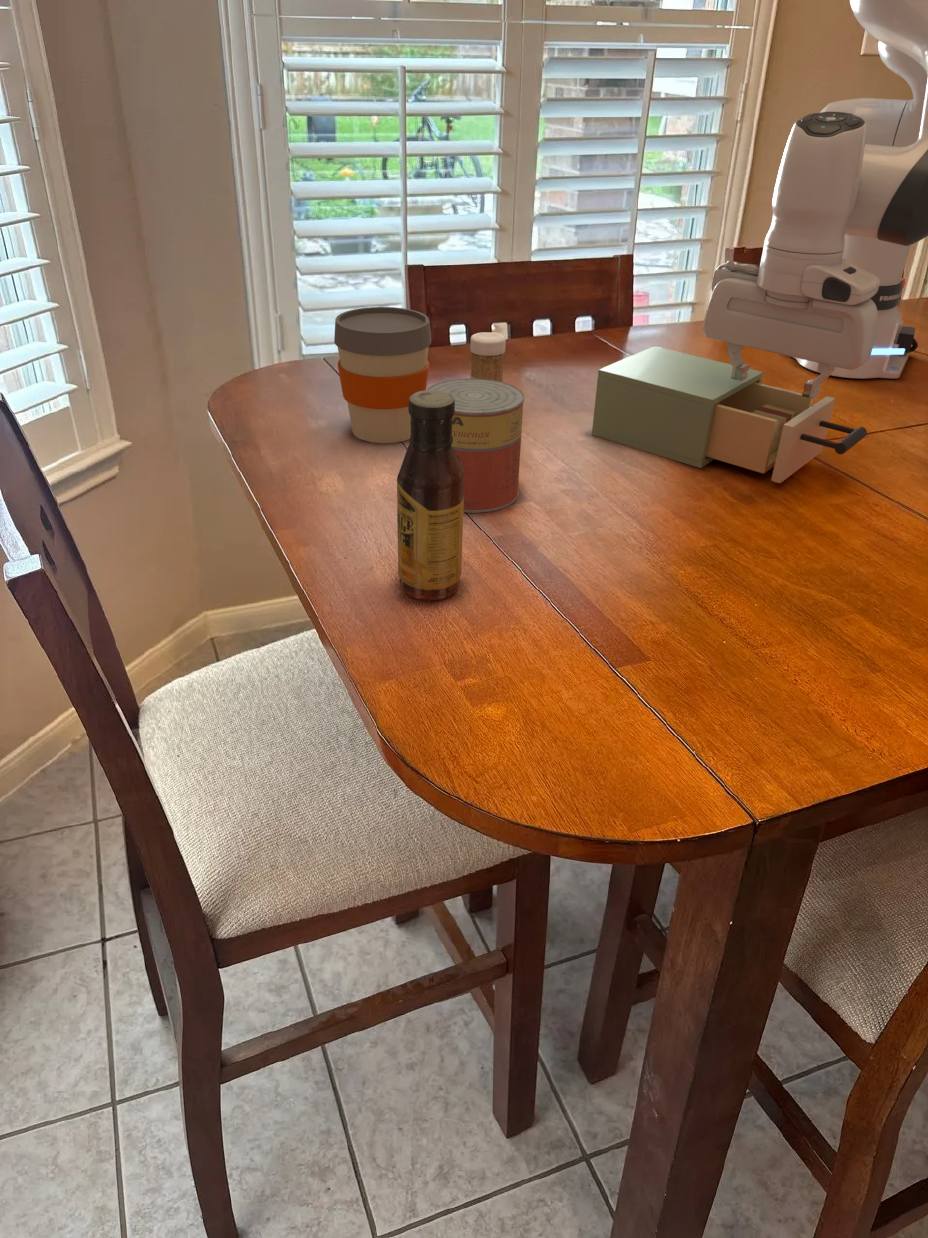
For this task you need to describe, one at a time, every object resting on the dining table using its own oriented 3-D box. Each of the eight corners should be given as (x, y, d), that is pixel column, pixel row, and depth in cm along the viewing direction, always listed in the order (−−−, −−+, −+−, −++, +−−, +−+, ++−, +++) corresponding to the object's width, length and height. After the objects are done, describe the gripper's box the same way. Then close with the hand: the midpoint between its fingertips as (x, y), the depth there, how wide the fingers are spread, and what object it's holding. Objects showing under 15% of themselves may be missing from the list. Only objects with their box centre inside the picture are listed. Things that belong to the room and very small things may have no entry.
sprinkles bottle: (507, 437, 124) (513, 338, 117) (479, 444, 122) (483, 343, 115) (488, 426, 127) (492, 329, 120) (461, 432, 125) (463, 333, 118)
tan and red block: (759, 432, 123) (765, 402, 120) (790, 440, 120) (797, 411, 118) (729, 452, 117) (735, 421, 115) (760, 461, 115) (767, 430, 112)
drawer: (865, 463, 118) (880, 409, 113) (825, 497, 109) (840, 439, 105) (714, 421, 129) (723, 370, 125) (667, 449, 120) (675, 395, 116)
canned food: (411, 480, 112) (410, 384, 106) (494, 466, 116) (498, 373, 109) (445, 519, 104) (447, 418, 97) (534, 504, 107) (541, 405, 101)
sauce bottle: (397, 572, 94) (394, 382, 83) (458, 571, 94) (463, 382, 83) (399, 607, 88) (395, 408, 77) (464, 605, 89) (469, 408, 78)
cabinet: (750, 436, 127) (763, 371, 122) (700, 468, 117) (713, 399, 112) (645, 407, 135) (654, 345, 130) (591, 434, 126) (598, 369, 121)
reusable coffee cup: (450, 431, 126) (451, 320, 117) (382, 456, 118) (379, 339, 110) (387, 407, 133) (385, 301, 125) (320, 429, 125) (312, 318, 117)
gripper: (704, 262, 110) (686, 374, 118) (875, 292, 99) (843, 414, 107) (728, 253, 114) (709, 363, 122) (894, 282, 104) (862, 400, 111)
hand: (773, 387), depth 114 cm, fingers open, 8 cm apart
